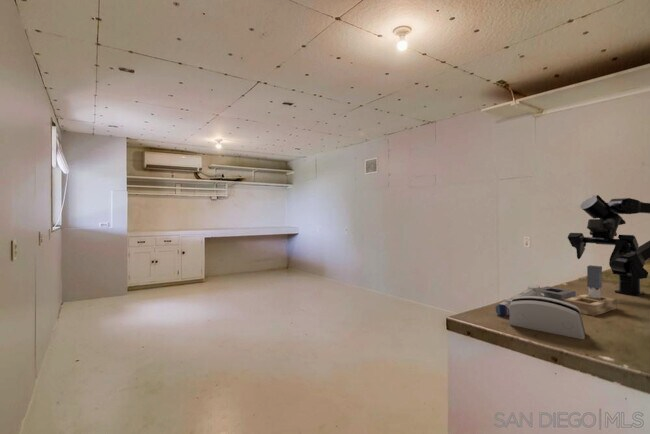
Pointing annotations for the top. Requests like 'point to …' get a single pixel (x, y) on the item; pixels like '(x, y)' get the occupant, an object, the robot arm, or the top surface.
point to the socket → (557, 293)
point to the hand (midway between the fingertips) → (593, 259)
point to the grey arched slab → (547, 316)
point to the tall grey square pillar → (594, 281)
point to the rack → (593, 304)
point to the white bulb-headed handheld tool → (504, 305)
